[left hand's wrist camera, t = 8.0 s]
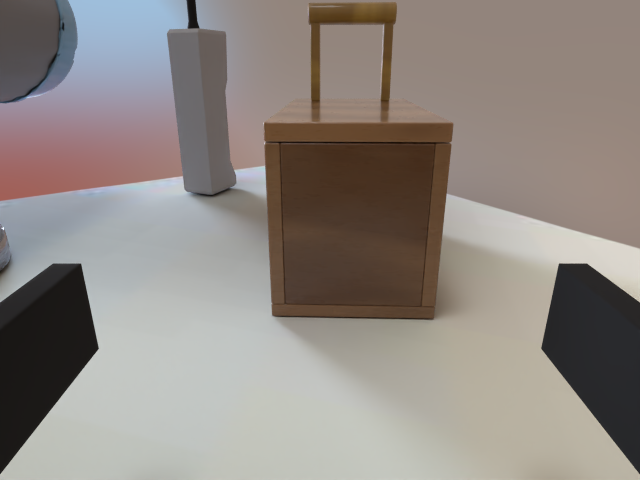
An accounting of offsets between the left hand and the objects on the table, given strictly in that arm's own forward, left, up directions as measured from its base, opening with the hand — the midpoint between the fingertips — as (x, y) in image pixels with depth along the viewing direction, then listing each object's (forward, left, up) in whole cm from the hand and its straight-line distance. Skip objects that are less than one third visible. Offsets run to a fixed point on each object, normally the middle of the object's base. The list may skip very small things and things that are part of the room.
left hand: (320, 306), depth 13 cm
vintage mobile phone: (+27, -32, -7) cm, 42 cm away
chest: (+6, -19, -7) cm, 21 cm away
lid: (+6, -19, +3) cm, 20 cm away
